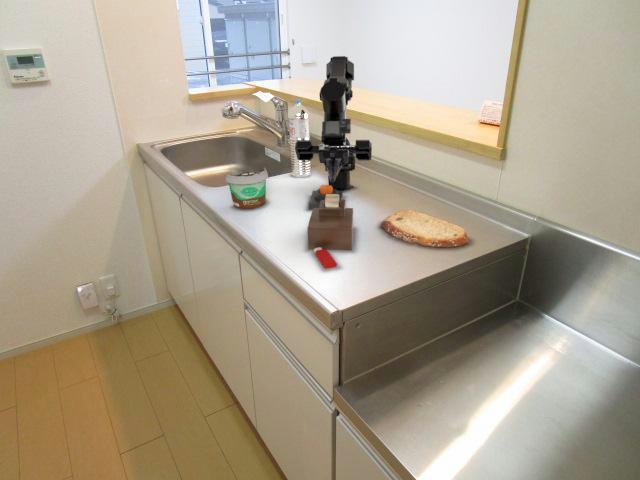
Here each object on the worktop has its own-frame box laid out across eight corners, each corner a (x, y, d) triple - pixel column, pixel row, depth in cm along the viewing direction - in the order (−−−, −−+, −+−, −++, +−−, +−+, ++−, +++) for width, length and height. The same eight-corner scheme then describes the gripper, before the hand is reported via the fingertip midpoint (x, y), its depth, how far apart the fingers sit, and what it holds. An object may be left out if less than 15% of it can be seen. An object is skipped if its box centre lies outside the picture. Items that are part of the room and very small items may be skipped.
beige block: (326, 203, 111) (326, 194, 110) (339, 203, 110) (339, 194, 109) (325, 208, 108) (325, 198, 107) (338, 208, 107) (338, 198, 106)
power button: (320, 190, 131) (320, 184, 130) (332, 190, 130) (332, 184, 130) (319, 195, 128) (319, 189, 127) (332, 195, 127) (331, 189, 126)
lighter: (324, 264, 95) (313, 248, 102) (324, 269, 95) (313, 253, 102) (336, 262, 96) (325, 246, 102) (336, 267, 96) (325, 251, 103)
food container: (235, 214, 124) (231, 179, 120) (228, 207, 129) (224, 174, 125) (276, 205, 129) (274, 172, 125) (268, 199, 134) (266, 166, 130)
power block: (313, 196, 136) (312, 185, 134) (342, 196, 135) (342, 185, 133) (308, 210, 126) (308, 198, 124) (341, 210, 125) (340, 198, 124)
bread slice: (473, 245, 103) (475, 230, 102) (398, 253, 101) (399, 238, 100) (442, 215, 119) (444, 202, 118) (377, 221, 117) (377, 208, 116)
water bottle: (311, 177, 152) (308, 101, 142) (290, 177, 153) (286, 101, 142) (311, 171, 159) (308, 97, 148) (292, 171, 159) (288, 98, 148)
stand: (314, 227, 115) (313, 199, 112) (353, 227, 114) (353, 200, 111) (308, 250, 104) (307, 220, 101) (351, 250, 103) (352, 220, 100)
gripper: (293, 106, 108) (289, 164, 102) (372, 105, 106) (372, 164, 101) (299, 132, 118) (296, 186, 113) (371, 132, 116) (370, 186, 111)
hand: (332, 180), depth 109 cm, fingers closed
